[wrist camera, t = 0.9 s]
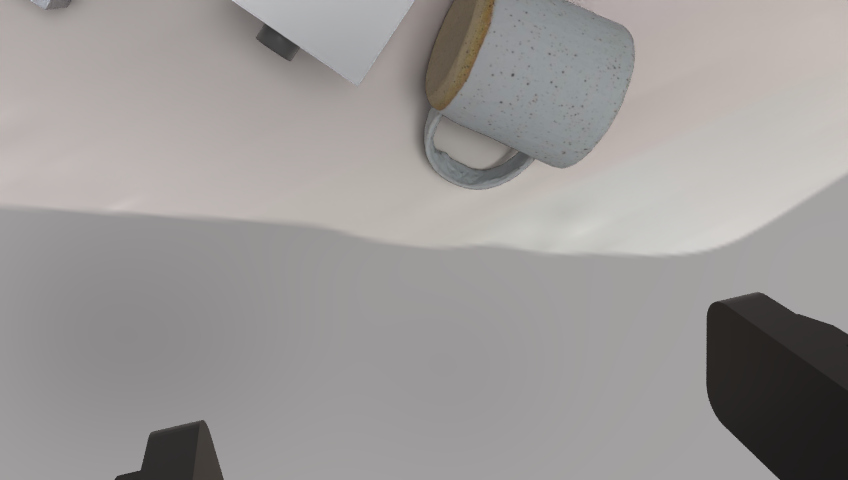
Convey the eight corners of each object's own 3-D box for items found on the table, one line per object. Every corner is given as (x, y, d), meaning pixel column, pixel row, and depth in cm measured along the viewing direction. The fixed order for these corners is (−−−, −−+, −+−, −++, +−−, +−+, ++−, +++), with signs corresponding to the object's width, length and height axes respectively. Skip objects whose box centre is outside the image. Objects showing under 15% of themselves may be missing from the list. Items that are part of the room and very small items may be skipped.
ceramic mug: (456, -38, 37) (504, -40, 30) (591, 22, 40) (663, 33, 33) (384, 155, 40) (411, 195, 33) (514, 200, 43) (566, 245, 35)
